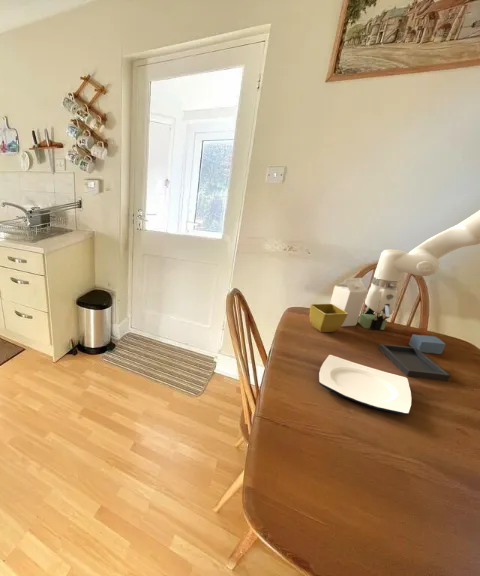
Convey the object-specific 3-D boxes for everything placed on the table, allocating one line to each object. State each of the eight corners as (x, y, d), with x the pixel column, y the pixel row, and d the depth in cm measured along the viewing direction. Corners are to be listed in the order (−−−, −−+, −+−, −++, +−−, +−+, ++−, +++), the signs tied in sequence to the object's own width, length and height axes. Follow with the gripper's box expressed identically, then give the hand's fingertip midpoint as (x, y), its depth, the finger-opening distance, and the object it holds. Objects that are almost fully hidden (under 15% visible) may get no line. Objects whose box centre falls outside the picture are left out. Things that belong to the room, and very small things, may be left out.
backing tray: (413, 352, 106) (415, 347, 106) (448, 380, 92) (450, 375, 92) (378, 348, 109) (380, 343, 108) (406, 376, 95) (409, 370, 94)
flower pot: (342, 334, 118) (349, 313, 115) (319, 335, 118) (325, 314, 114) (326, 323, 126) (331, 303, 123) (304, 324, 126) (309, 304, 123)
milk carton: (325, 318, 130) (337, 276, 123) (341, 317, 131) (353, 275, 124) (339, 327, 123) (353, 282, 116) (356, 325, 124) (370, 281, 117)
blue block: (430, 346, 109) (435, 336, 108) (441, 354, 105) (446, 343, 103) (408, 344, 111) (412, 334, 109) (418, 351, 106) (422, 341, 105)
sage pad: (376, 323, 125) (379, 315, 124) (384, 329, 121) (387, 320, 119) (357, 322, 127) (360, 313, 125) (364, 328, 122) (367, 319, 121)
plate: (408, 385, 91) (411, 377, 90) (409, 426, 77) (413, 418, 76) (324, 358, 104) (326, 352, 103) (312, 390, 90) (314, 382, 89)
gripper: (412, 291, 108) (395, 337, 115) (384, 275, 124) (370, 316, 130) (386, 290, 110) (371, 335, 117) (362, 274, 125) (349, 315, 132)
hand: (370, 325), depth 123 cm, fingers closed on sage pad, 5 cm apart
